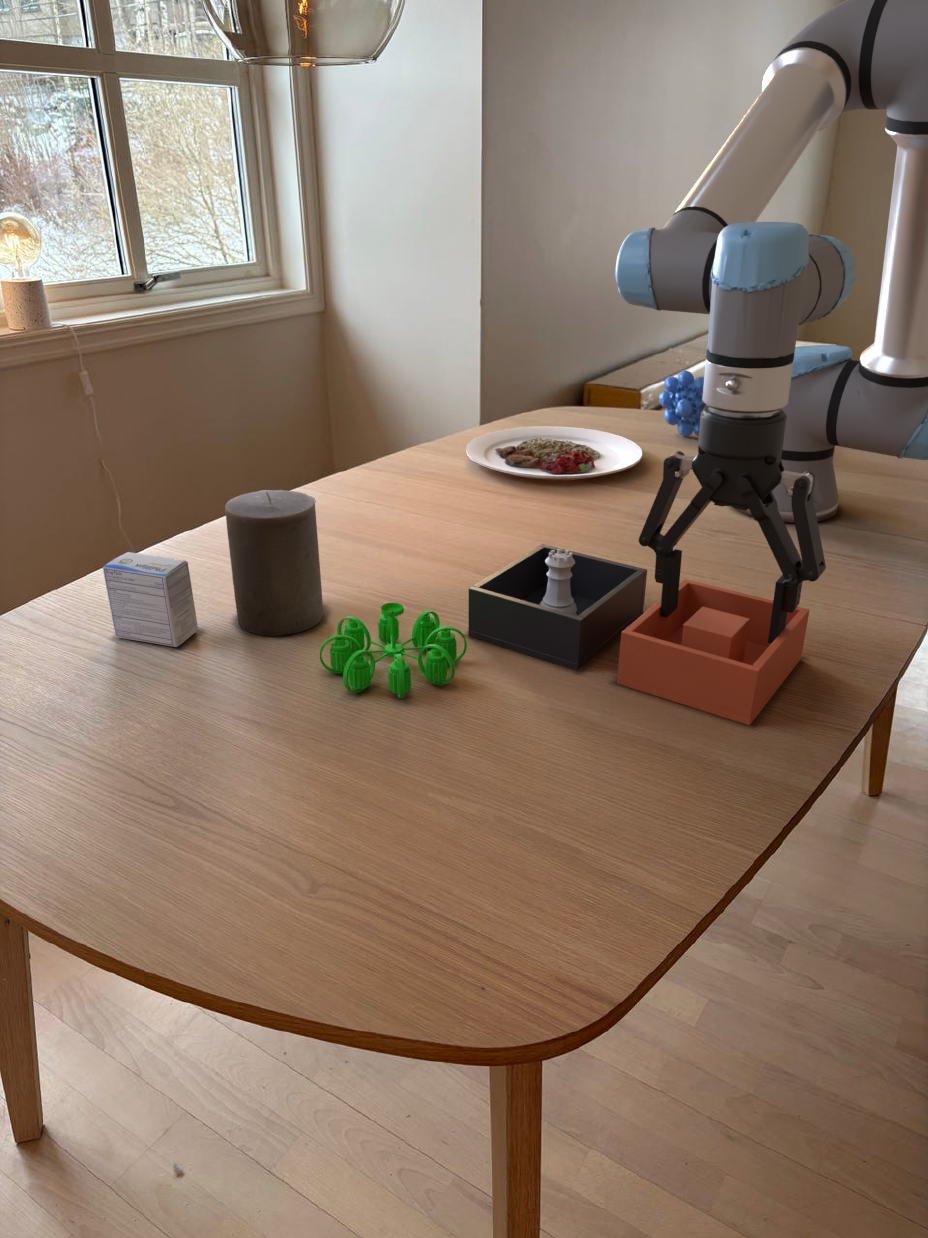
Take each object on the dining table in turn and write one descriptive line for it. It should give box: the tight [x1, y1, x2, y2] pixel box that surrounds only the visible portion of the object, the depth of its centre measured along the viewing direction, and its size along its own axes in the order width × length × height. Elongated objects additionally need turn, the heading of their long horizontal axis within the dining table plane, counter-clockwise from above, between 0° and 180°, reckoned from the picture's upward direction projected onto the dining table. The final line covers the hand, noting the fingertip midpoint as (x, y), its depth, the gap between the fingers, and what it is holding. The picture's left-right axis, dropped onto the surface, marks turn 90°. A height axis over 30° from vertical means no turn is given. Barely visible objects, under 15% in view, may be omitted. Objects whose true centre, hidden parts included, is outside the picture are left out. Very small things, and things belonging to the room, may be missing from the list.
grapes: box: [658, 369, 707, 437], centre depth 173 cm, size 12×7×12 cm, turn 59°
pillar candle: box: [224, 489, 324, 637], centre depth 105 cm, size 10×10×15 cm
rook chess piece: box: [539, 548, 577, 616], centre depth 104 cm, size 4×4×8 cm
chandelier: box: [319, 602, 468, 699], centre depth 96 cm, size 15×15×7 cm
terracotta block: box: [681, 607, 750, 663], centre depth 96 cm, size 5×5×5 cm
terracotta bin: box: [616, 578, 811, 726], centre depth 96 cm, size 16×14×6 cm
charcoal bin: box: [467, 543, 648, 672], centre depth 105 cm, size 16×14×6 cm
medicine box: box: [102, 551, 199, 648], centre depth 102 cm, size 8×4×9 cm, turn 71°
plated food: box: [465, 425, 643, 481], centre depth 163 cm, size 30×30×3 cm
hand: (720, 624), depth 96 cm, fingers open, 10 cm apart
